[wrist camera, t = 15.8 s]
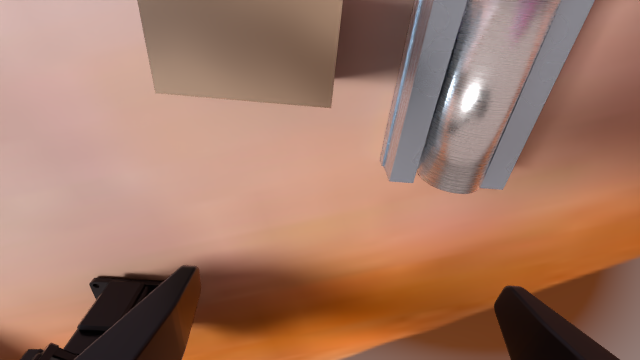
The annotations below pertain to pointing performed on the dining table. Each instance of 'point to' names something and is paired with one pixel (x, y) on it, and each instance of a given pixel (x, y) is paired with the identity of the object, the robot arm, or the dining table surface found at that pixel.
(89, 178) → the dining table surface
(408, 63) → the cradle
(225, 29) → the brown boxy piece
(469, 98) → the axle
